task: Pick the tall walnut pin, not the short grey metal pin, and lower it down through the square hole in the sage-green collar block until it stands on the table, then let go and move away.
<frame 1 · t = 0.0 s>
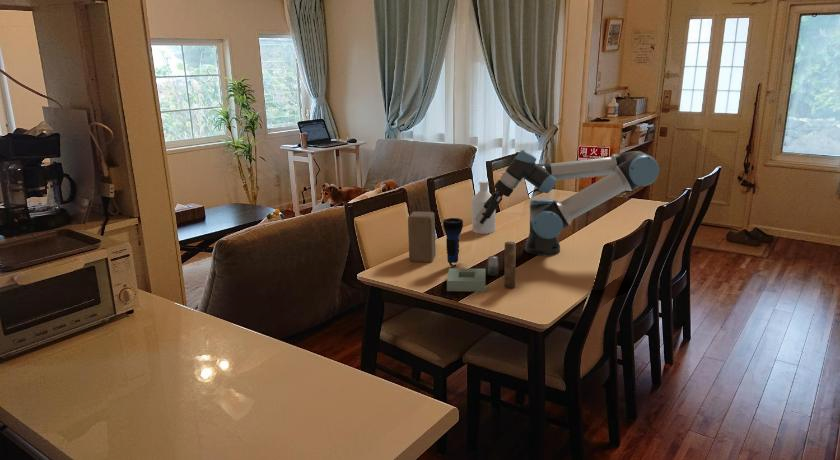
hand: (476, 224, 249), 15 cm above the table, tool tilted 35°, fingers open, 13 cm apart
long pin: (509, 286, 220), on the table
collar block: (466, 284, 224), on the table
short pin: (493, 274, 234), on the table
flashlight: (453, 267, 244), on the table
bottle: (483, 231, 297), on the table
wooden block: (422, 259, 256), on the table
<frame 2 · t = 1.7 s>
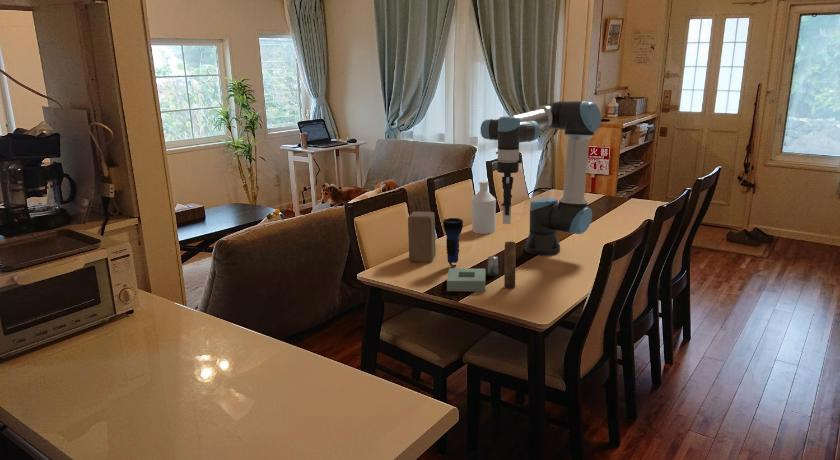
hand: (506, 219, 215), 25 cm above the table, tool pointing down, fingers open, 13 cm apart
nothing on the table moved.
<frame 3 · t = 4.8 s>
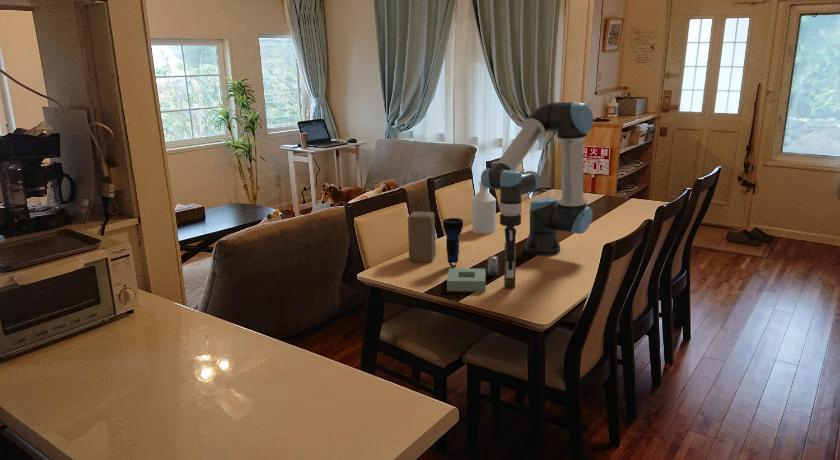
hand: (509, 275, 219), 5 cm above the table, tool pointing down, fingers closed on long pin, 4 cm apart
long pin: (509, 286, 220), on the table, touching gripper
everything else where it was.
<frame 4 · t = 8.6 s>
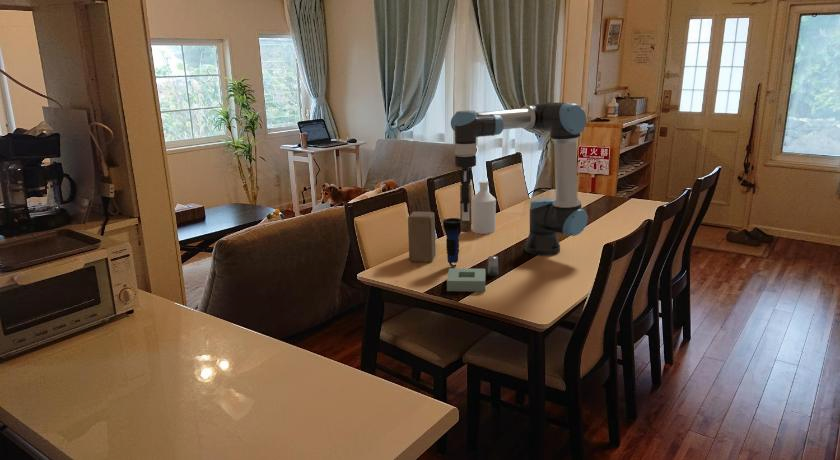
hand: (465, 218, 217), 26 cm above the table, tool pointing down, fingers closed on long pin, 4 cm apart
long pin: (466, 230, 218), point 21 cm above the table, touching gripper
everything else where it was.
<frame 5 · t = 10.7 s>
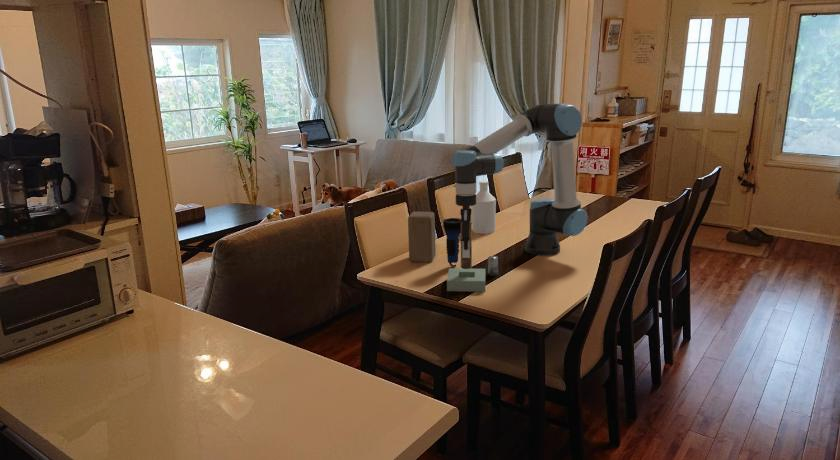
hand: (466, 255, 221), 12 cm above the table, tool pointing down, fingers closed on long pin, 4 cm apart
long pin: (466, 267, 222), point 7 cm above the table, touching gripper
everything else where it was.
when the fingers open (7 cm above the table, at t = 12.6 s): long pin drops 2 cm, resting in collar block.
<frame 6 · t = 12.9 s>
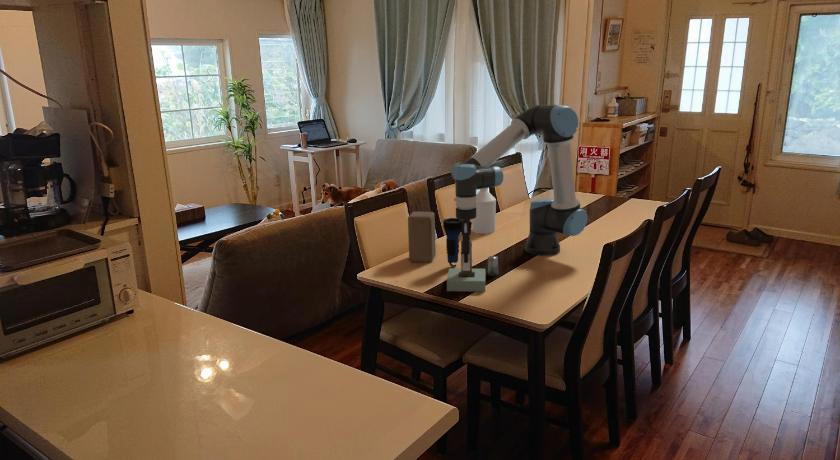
hand: (466, 266, 222), 7 cm above the table, tool pointing down, fingers open, 7 cm apart
long pin: (466, 284, 224), resting in collar block
everything else where it was.
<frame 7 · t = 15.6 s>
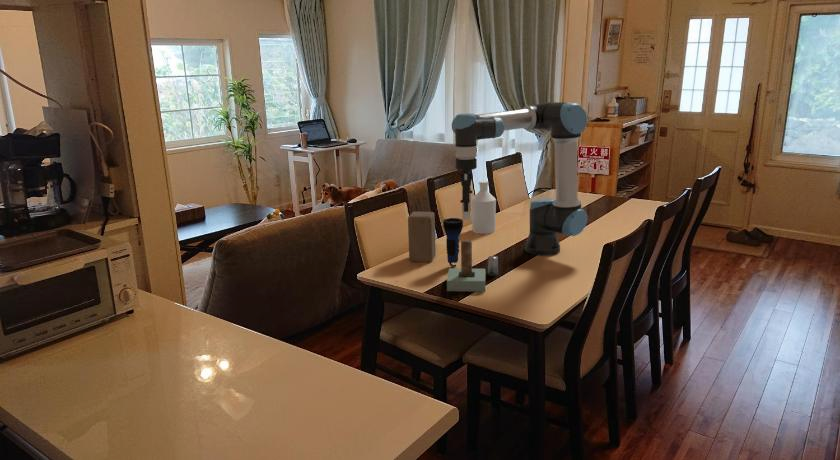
hand: (466, 215, 218), 27 cm above the table, tool pointing down, fingers open, 13 cm apart
nothing on the table moved.
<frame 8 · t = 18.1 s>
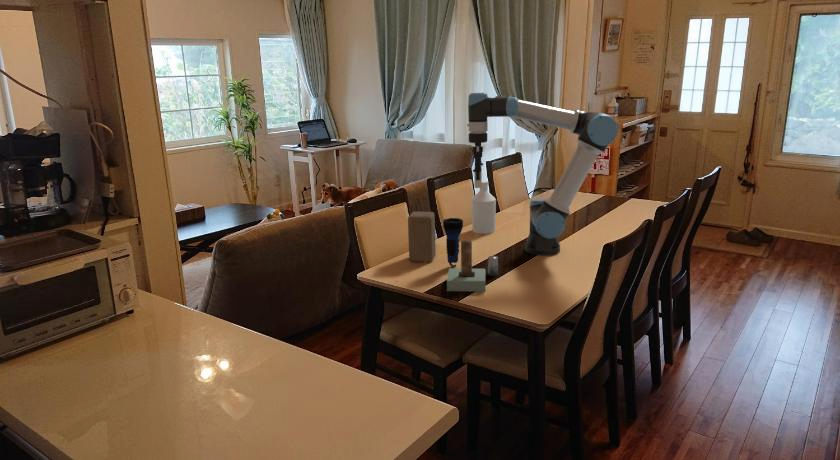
hand: (478, 184, 243), 33 cm above the table, tool pointing down, fingers open, 13 cm apart
nothing on the table moved.
at the end: long pin 0.0 cm off-centre on the collar block, point 0.0 cm above the collar block's base; long pin tilted 0°; short pin moved 0.0 cm from its start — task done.
